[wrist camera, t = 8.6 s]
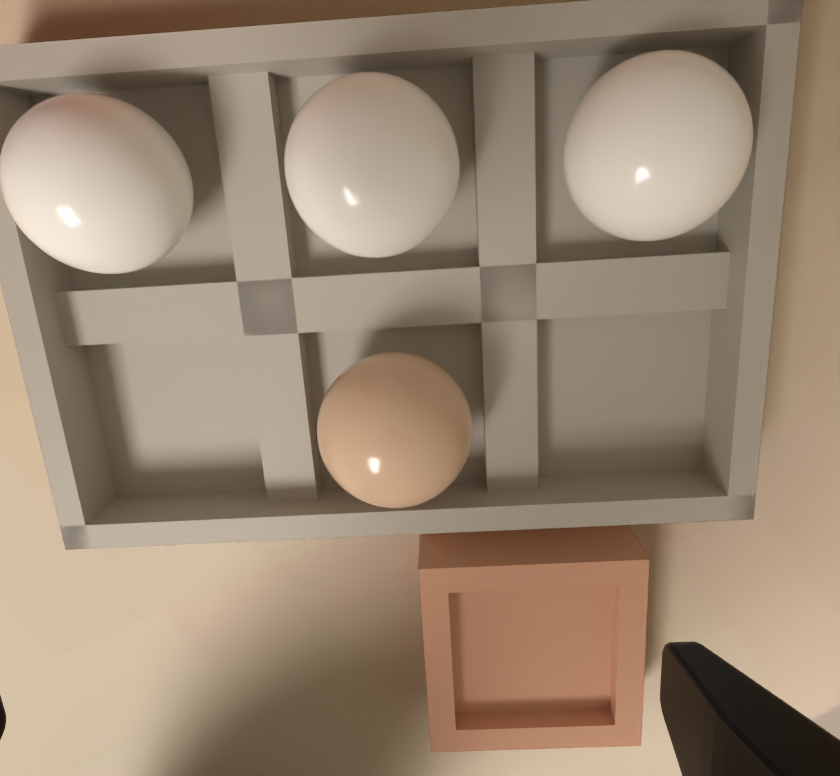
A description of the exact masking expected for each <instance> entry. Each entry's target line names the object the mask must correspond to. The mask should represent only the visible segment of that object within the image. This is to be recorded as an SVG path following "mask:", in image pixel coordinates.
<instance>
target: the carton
mask: <svg viewBox="0 0 840 776" xmlns="http://www.w3.org/2000/svg"><path fill="white" fill-rule="evenodd" d="M802 4H803V0H588V1H575V2H562V3H549V4H535V5H522V6H509V7H496V8H483V9H470V10H457V11H443V12H430V13H417V14H404V15H391V16H378V17H364V18H351V19H338V20H325V21H312V22H299V23H286V24H272V25H259V26H246V27H233V28H220V29H207V30H193V31H180V32H167V33H154V34H141V35H128V36H115V37H101V38H88V39H75V40H62V41H49V42H36V43H22V44H9V45H0V156H1V151H2V147H3V144H4V141H5V138H6V136H7V135H8V133H9V131H10V129H11V128H12V126H13V125H14V124H15V122H16V121H17V120H18V119H19V118H20V117H21V116H22V115H23V114H24V113H25V112H26V111H27V110H29V109H30V108H32V107H33V106H34V105H36V104H38V103H40V102H42V101H44V100H46V99H49V98H52V97H55V96H58V95H62V94H69V93H96V94H102V95H107V96H110V97H114V98H117V99H120V100H123V101H125V102H127V103H130V104H132V105H134V106H135V107H137V108H139V109H141V110H142V111H144V112H146V113H147V114H148V115H150V116H151V117H152V118H153V119H155V120H156V121H157V122H158V123H159V124H160V125H161V126H162V127H163V128H164V129H165V130H166V131H167V132H168V133H169V134H170V135H171V137H172V138H173V139H174V140H175V142H176V143H177V145H178V147H179V148H180V150H181V151H182V154H183V156H184V158H185V160H186V162H187V165H188V167H189V170H190V173H191V178H192V182H193V191H194V202H193V210H192V215H191V219H190V222H189V225H188V227H187V229H186V231H185V233H184V235H183V237H182V238H181V240H180V241H179V243H178V244H177V245H176V246H175V248H174V249H173V250H172V251H171V252H169V253H168V254H167V255H166V256H165V257H163V258H162V259H161V260H159V261H157V262H156V263H154V264H152V265H150V266H148V267H145V268H143V269H140V270H136V271H133V272H129V273H121V274H100V273H93V272H88V271H84V270H80V269H76V268H74V267H71V266H69V265H66V264H64V263H62V262H60V261H58V260H56V259H55V258H53V257H51V256H49V255H48V254H47V253H45V252H44V251H42V250H41V249H40V248H39V247H38V246H36V245H35V244H34V243H33V242H32V241H31V240H30V239H29V238H28V237H27V236H26V235H25V234H24V233H23V232H22V231H21V229H20V228H19V226H18V225H17V224H16V222H15V221H14V219H13V217H12V215H11V214H10V212H9V210H8V207H7V205H6V203H5V200H4V197H3V193H2V190H1V185H0V283H1V288H2V292H3V296H4V300H5V304H6V308H7V312H8V316H9V320H10V324H11V328H12V333H13V337H14V341H15V345H16V349H17V353H18V357H19V361H20V365H21V369H22V373H23V378H24V382H25V386H26V390H27V394H28V398H29V402H30V406H31V410H32V414H33V418H34V423H35V427H36V431H37V435H38V439H39V443H40V447H41V451H42V455H43V459H44V463H45V468H46V472H47V476H48V480H49V484H50V488H51V492H52V496H53V500H54V504H55V508H56V513H57V517H58V521H59V525H60V529H61V533H62V537H63V541H64V545H65V549H66V550H69V549H92V548H114V547H137V546H160V545H183V544H205V543H228V542H251V541H274V540H296V539H319V538H342V537H365V536H387V535H410V534H433V533H455V532H478V531H501V530H524V529H546V528H569V527H592V526H615V525H637V524H660V523H683V522H706V521H728V520H751V519H753V517H754V507H755V496H756V486H757V475H758V465H759V454H760V444H761V433H762V423H763V413H764V402H765V392H766V381H767V371H768V360H769V350H770V339H771V329H772V318H773V308H774V297H775V287H776V277H777V266H778V256H779V245H780V235H781V224H782V214H783V203H784V193H785V182H786V172H787V161H788V151H789V140H790V130H791V120H792V109H793V99H794V88H795V78H796V67H797V57H798V46H799V36H800V25H801V15H802ZM660 50H682V51H688V52H692V53H695V54H699V55H702V56H704V57H706V58H708V59H710V60H712V61H714V62H716V63H717V64H719V65H720V66H722V67H723V68H724V69H725V70H726V71H727V72H729V73H730V74H731V75H732V77H733V78H734V79H735V80H736V82H737V83H738V84H739V86H740V87H741V89H742V91H743V93H744V94H745V97H746V99H747V102H748V104H749V108H750V112H751V116H752V123H753V143H752V150H751V155H750V159H749V163H748V166H747V169H746V171H745V174H744V176H743V178H742V180H741V182H740V184H739V186H738V187H737V189H736V190H735V192H734V193H733V195H732V196H731V197H730V199H729V200H728V201H727V202H726V203H725V204H724V205H723V207H722V208H721V209H720V210H719V211H718V212H716V213H715V214H714V215H713V216H712V217H711V218H710V219H708V220H707V221H705V222H704V223H703V224H701V225H699V226H698V227H696V228H694V229H692V230H690V231H688V232H686V233H683V234H681V235H678V236H676V237H672V238H668V239H665V240H657V241H633V240H626V239H623V238H619V237H616V236H613V235H611V234H609V233H606V232H604V231H603V230H601V229H599V228H598V227H596V226H595V225H593V224H592V223H591V222H590V221H589V220H588V219H586V217H585V216H584V215H583V214H582V213H581V212H580V211H579V209H578V208H577V206H576V205H575V203H574V202H573V200H572V198H571V196H570V194H569V191H568V189H567V186H566V183H565V179H564V173H563V165H562V152H563V143H564V137H565V133H566V129H567V126H568V123H569V120H570V118H571V116H572V114H573V112H574V110H575V108H576V106H577V105H578V103H579V101H580V100H581V98H582V97H583V96H584V95H585V93H586V92H587V91H588V89H589V88H590V87H591V86H592V85H593V84H594V83H595V82H596V81H597V80H598V79H599V78H600V77H601V76H602V75H604V74H605V73H606V72H607V71H609V70H610V69H612V68H613V67H615V66H617V65H618V64H620V63H622V62H623V61H625V60H628V59H630V58H632V57H634V56H637V55H640V54H644V53H647V52H653V51H660ZM359 72H380V73H387V74H391V75H394V76H398V77H401V78H403V79H405V80H407V81H409V82H411V83H413V84H415V85H416V86H418V87H419V88H421V89H422V90H423V91H424V92H426V93H427V94H428V95H429V96H430V97H431V98H432V99H433V100H434V101H435V102H436V103H437V104H438V106H439V107H440V108H441V110H442V111H443V113H444V114H445V116H446V117H447V119H448V121H449V123H450V125H451V127H452V130H453V133H454V135H455V138H456V142H457V146H458V151H459V160H460V177H459V183H458V189H457V193H456V196H455V199H454V202H453V204H452V207H451V209H450V211H449V213H448V215H447V216H446V218H445V220H444V221H443V222H442V224H441V225H440V226H439V228H438V229H437V230H436V231H435V232H434V233H433V234H432V235H431V236H430V237H429V238H428V239H426V240H425V241H424V242H422V243H421V244H420V245H418V246H416V247H414V248H413V249H411V250H409V251H406V252H404V253H401V254H398V255H394V256H390V257H382V258H367V257H359V256H355V255H351V254H347V253H345V252H342V251H340V250H338V249H335V248H334V247H332V246H330V245H329V244H327V243H325V242H324V241H323V240H322V239H320V238H319V237H318V236H317V235H316V234H315V233H314V232H313V231H312V230H311V229H310V228H309V227H308V226H307V225H306V224H305V222H304V221H303V220H302V218H301V217H300V215H299V213H298V212H297V210H296V208H295V206H294V204H293V201H292V199H291V197H290V194H289V191H288V187H287V183H286V178H285V169H284V156H285V146H286V141H287V137H288V134H289V131H290V128H291V125H292V123H293V121H294V119H295V117H296V115H297V113H298V112H299V110H300V109H301V107H302V106H303V104H304V103H305V102H306V101H307V100H308V99H309V98H310V96H311V95H313V94H314V93H315V92H316V91H317V90H318V89H319V88H321V87H322V86H324V85H326V84H327V83H329V82H330V81H333V80H335V79H337V78H339V77H342V76H345V75H348V74H352V73H359ZM387 352H404V353H411V354H414V355H418V356H421V357H424V358H426V359H428V360H431V361H432V362H434V363H436V364H438V365H439V366H440V367H442V368H443V369H444V370H446V371H447V372H448V373H449V374H450V375H451V376H452V377H453V378H454V379H455V381H456V382H457V383H458V385H459V386H460V388H461V390H462V391H463V393H464V395H465V397H466V399H467V401H468V404H469V407H470V411H471V415H472V423H473V438H472V444H471V449H470V452H469V455H468V458H467V461H466V463H465V465H464V467H463V469H462V470H461V472H460V474H459V475H458V476H457V478H456V479H455V480H454V481H453V482H452V484H451V485H450V486H449V487H447V488H446V489H445V490H444V491H443V492H442V493H440V494H439V495H437V496H436V497H434V498H432V499H430V500H428V501H426V502H424V503H421V504H418V505H414V506H410V507H403V508H386V507H379V506H375V505H371V504H369V503H366V502H363V501H361V500H359V499H357V498H356V497H354V496H352V495H351V494H349V493H348V492H346V491H345V490H344V489H343V488H342V487H341V486H340V485H339V484H338V483H337V482H336V481H335V480H334V478H333V477H332V475H331V474H330V472H329V471H328V469H327V468H326V466H325V464H324V462H323V459H322V456H321V453H320V450H319V445H318V439H317V421H318V415H319V411H320V407H321V404H322V402H323V399H324V396H325V395H326V393H327V391H328V389H329V388H330V386H331V385H332V384H333V382H334V381H335V380H336V379H337V377H338V376H339V375H340V374H341V373H342V372H343V371H345V370H346V369H347V368H348V367H350V366H351V365H353V364H354V363H356V362H358V361H360V360H362V359H364V358H366V357H369V356H372V355H376V354H380V353H387Z"/></svg>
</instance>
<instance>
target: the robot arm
mask: <svg viewBox="0 0 840 776" xmlns="http://www.w3.org/2000/svg"><path fill="white" fill-rule="evenodd" d="M660 702H661V708H662V713H663V716H664V720H665V723H666V726H667V729H668V732H669V735H670V738H671V741H672V745H673V748H674V751H675V754H676V757H677V760H678V763H679V766H680V770H681V773H682V776H840V740H839V739H838V738H836V737H835V736H833V735H832V734H830V733H829V732H827V731H826V730H825V729H823V728H822V727H820V726H819V725H817V724H816V723H814V722H813V721H812V720H810V719H809V718H807V717H806V716H804V715H803V714H801V713H800V712H799V711H797V710H796V709H794V708H793V707H791V706H790V705H788V704H787V703H785V702H784V701H783V700H781V699H780V698H778V697H777V696H775V695H774V694H772V693H771V692H770V691H768V690H767V689H765V688H764V687H762V686H761V685H759V684H758V683H757V682H755V681H754V680H752V679H751V678H749V677H748V676H746V675H745V674H744V673H742V672H741V671H739V670H738V669H736V668H735V667H733V666H732V665H731V664H729V663H728V662H726V661H725V660H723V659H722V658H720V657H719V656H717V655H716V654H715V653H713V652H712V651H710V650H709V649H707V648H706V647H704V646H703V645H701V644H699V643H697V642H670V643H668V644H666V645H665V646H664V649H663V653H662V669H661V687H660ZM5 724H6V713H5V710H4V706H3V703H2V699H1V696H0V739H1V737H2V735H3V732H4V729H5Z"/></svg>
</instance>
